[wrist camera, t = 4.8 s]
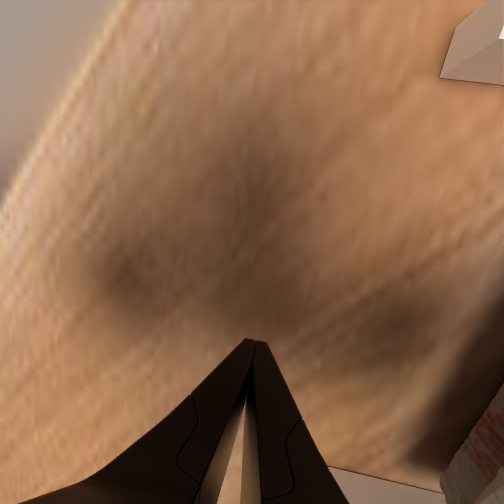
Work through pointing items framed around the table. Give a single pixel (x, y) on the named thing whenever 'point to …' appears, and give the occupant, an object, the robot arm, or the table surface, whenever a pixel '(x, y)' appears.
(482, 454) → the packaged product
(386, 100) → the table surface
